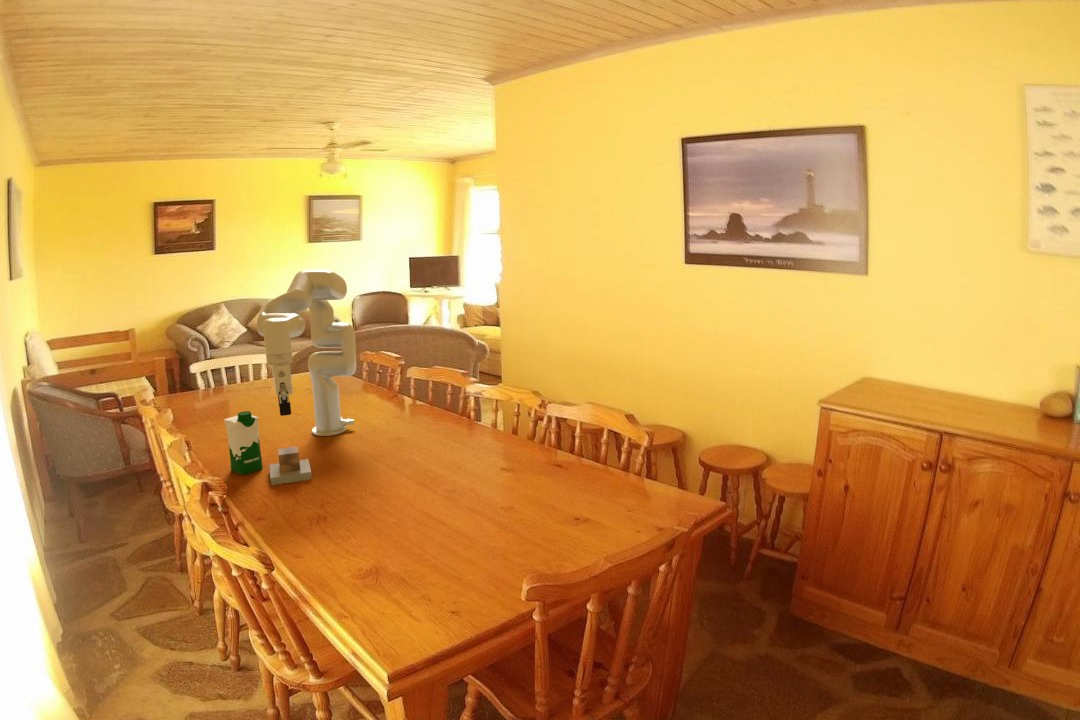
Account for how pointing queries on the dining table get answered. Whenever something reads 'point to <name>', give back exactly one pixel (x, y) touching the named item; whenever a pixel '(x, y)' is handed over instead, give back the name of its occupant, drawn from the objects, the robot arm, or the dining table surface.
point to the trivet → (290, 473)
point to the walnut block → (289, 459)
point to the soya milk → (244, 443)
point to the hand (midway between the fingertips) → (285, 410)
